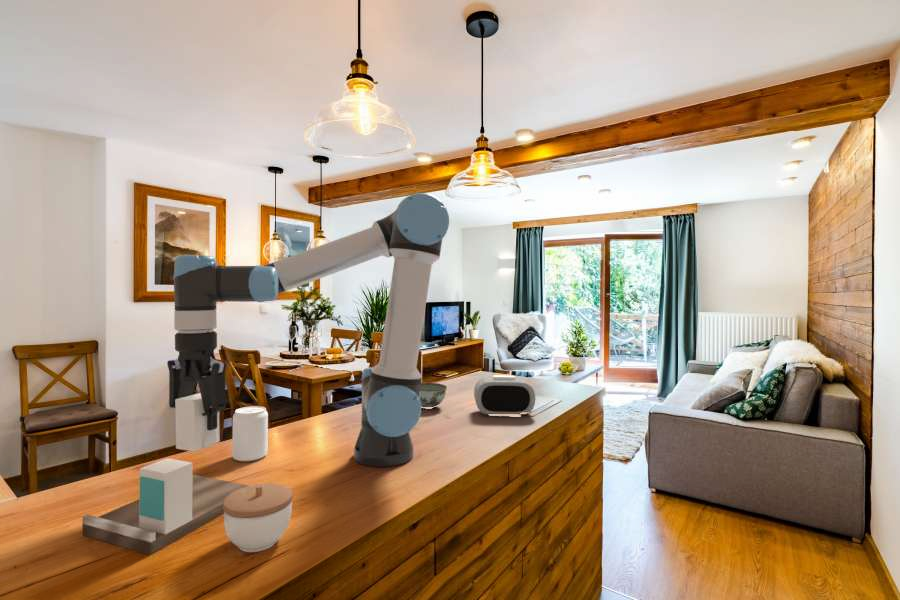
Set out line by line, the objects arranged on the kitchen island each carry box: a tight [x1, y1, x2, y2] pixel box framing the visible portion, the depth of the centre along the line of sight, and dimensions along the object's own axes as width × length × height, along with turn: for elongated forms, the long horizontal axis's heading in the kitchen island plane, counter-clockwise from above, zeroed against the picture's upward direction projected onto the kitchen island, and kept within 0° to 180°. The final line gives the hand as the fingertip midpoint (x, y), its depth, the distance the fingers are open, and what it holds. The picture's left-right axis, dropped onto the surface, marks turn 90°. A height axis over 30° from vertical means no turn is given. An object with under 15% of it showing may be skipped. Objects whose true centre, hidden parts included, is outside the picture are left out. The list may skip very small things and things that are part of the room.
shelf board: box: [82, 474, 250, 556], centre depth 84 cm, size 16×22×3 cm
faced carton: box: [138, 457, 194, 534], centre depth 76 cm, size 5×6×10 cm
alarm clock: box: [473, 374, 536, 415], centre depth 158 cm, size 21×10×13 cm, turn 90°
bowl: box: [419, 382, 448, 407], centre depth 165 cm, size 14×13×8 cm
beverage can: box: [231, 405, 269, 462], centre depth 113 cm, size 8×8×12 cm
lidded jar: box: [223, 482, 294, 553], centre depth 75 cm, size 11×11×9 cm
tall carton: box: [174, 392, 221, 452], centre depth 92 cm, size 5×6×10 cm
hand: (197, 443), depth 92 cm, fingers closed on tall carton, 5 cm apart
